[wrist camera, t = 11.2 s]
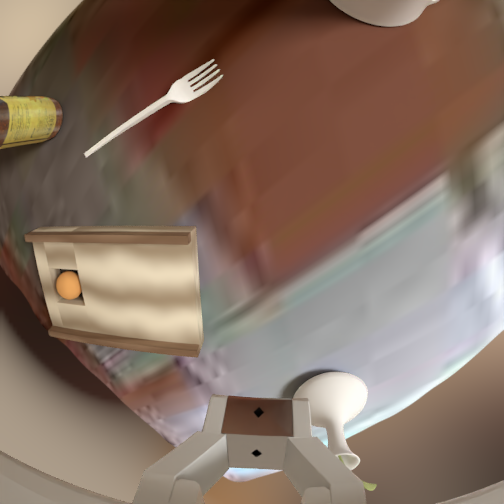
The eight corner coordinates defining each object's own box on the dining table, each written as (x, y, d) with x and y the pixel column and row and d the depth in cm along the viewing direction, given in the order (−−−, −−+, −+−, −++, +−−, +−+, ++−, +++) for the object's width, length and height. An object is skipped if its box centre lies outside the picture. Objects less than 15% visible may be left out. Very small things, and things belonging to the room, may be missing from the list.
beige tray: (41, 226, 40) (24, 234, 36) (196, 226, 38) (187, 235, 34) (62, 323, 45) (49, 335, 41) (203, 340, 43) (197, 357, 40)
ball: (56, 268, 40) (50, 280, 37) (81, 264, 42) (77, 277, 38) (62, 292, 42) (57, 306, 39) (86, 289, 43) (83, 303, 40)
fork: (82, 145, 36) (74, 146, 35) (215, 59, 32) (211, 55, 30) (92, 166, 37) (84, 168, 35) (228, 82, 33) (225, 79, 31)
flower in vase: (276, 393, 46) (270, 544, 22) (335, 352, 43) (366, 513, 19) (329, 429, 48) (342, 558, 25) (384, 394, 45) (423, 528, 21)
